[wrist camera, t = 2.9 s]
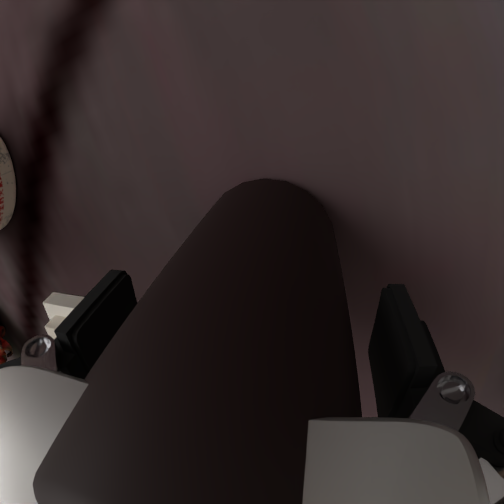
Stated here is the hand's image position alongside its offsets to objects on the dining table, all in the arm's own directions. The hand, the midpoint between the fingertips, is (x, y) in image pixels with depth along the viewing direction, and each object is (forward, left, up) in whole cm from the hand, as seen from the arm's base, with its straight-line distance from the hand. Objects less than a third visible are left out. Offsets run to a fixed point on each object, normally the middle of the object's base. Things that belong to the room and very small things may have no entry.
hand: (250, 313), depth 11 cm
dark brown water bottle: (0, 0, -6) cm, 6 cm away
